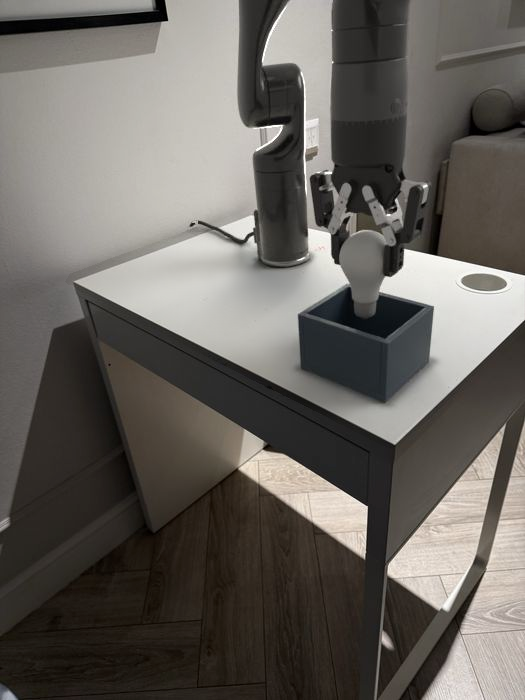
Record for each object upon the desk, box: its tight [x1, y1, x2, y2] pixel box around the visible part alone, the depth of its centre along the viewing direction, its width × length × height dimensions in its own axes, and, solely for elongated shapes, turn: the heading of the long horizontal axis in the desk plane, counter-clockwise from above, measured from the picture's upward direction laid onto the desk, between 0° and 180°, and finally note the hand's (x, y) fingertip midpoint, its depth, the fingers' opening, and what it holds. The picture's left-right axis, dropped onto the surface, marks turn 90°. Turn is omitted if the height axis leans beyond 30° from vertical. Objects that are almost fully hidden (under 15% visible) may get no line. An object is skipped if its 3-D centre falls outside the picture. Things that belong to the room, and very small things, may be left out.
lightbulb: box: [339, 229, 387, 319], centre depth 61 cm, size 6×6×11 cm
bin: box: [297, 282, 435, 403], centre depth 65 cm, size 13×11×8 cm
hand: (365, 267), depth 60 cm, fingers closed on lightbulb, 6 cm apart
